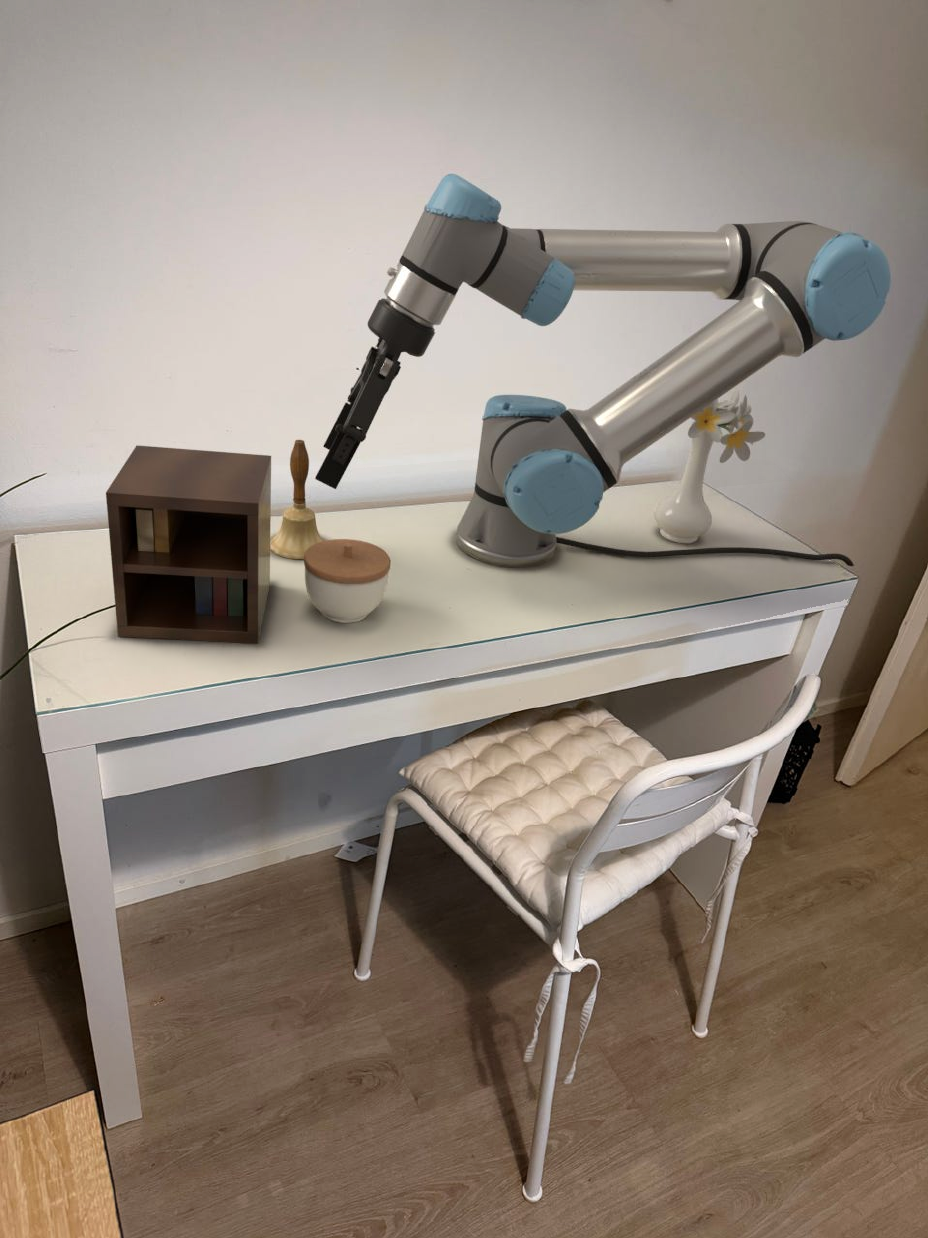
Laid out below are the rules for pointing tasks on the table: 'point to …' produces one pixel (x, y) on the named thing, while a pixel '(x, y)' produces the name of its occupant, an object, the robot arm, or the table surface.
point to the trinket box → (346, 578)
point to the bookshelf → (190, 544)
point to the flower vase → (686, 507)
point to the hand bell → (297, 512)
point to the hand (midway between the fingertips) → (329, 466)
